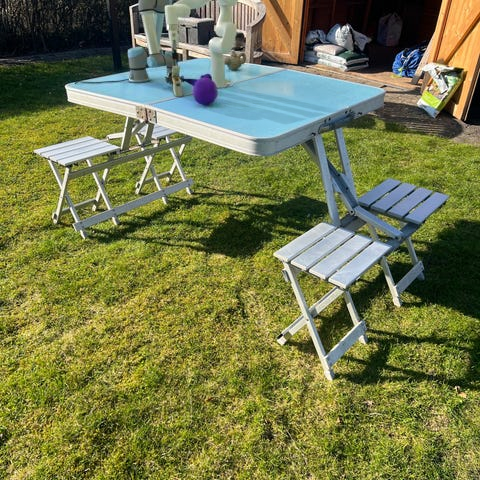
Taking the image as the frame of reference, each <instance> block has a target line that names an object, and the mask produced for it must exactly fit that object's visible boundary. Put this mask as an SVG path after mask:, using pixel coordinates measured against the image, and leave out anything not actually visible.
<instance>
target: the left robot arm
mask: <svg viewBox="0 0 480 480" xmlns="http://www.w3.org/2000/svg"><path fill="white" fill-rule="evenodd" d="M137 4H138V6H137V7H138V13H139V14H140V15H141V20H142V25H143V30H144V34H145V39H146V40H145V41H146V43H145V46H144V47H143V46H134V47H131V48H129V49H127V57H128V66H129V76H128V78H125V79H119V80H106V81H105V80H104V81H81V80H78V81H75V82H74V83H75V84H74V85H76V84H79V83H82V84H103V83H120V82H125V81H126V82H127V81H128V82H129V83H133V84H141V83H148V82H150V76H149V73H148V71H147V67H146V66H148V67H149V68H150V69H154V68H161V67H166V76H164V81H165V82H166V84H169V85H172V86H173V80H172V69H173V66H174V61H173V59H172V50H165V52H164V49H162V46H161V41H162V40H161V38H162V33H163V27H164V19H165V6H166V5H173V0H138V3H137ZM175 66H177V63H176V59H175ZM179 78H180V80H181V82H182V83H185V81H183V80H182V79H185V76H184V75H179Z"/></svg>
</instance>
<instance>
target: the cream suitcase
mask: <svg viewBox="0 0 480 480" xmlns="http://www.w3.org/2000/svg"><path fill="white" fill-rule="evenodd" d="M172 80H173V85H172V91H173V93H174V96H175V97H184V96H183V95H184V94H183V82H181V80H180V78H179V77H172Z"/></svg>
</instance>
